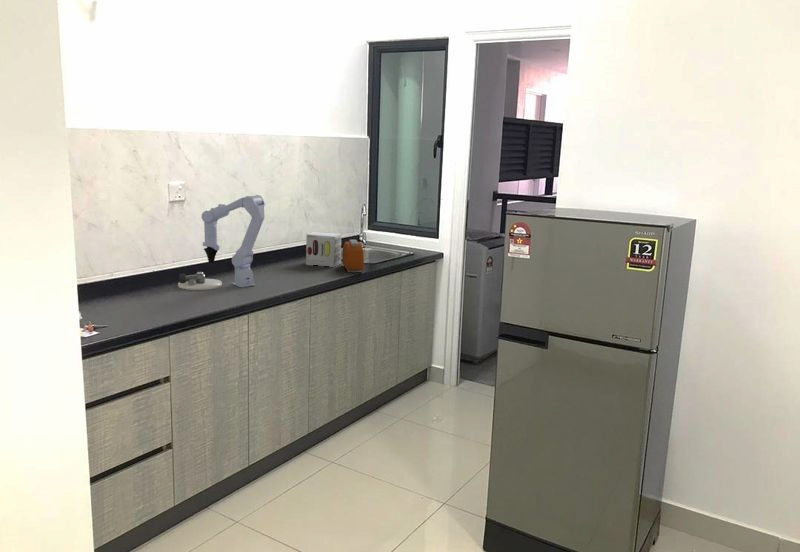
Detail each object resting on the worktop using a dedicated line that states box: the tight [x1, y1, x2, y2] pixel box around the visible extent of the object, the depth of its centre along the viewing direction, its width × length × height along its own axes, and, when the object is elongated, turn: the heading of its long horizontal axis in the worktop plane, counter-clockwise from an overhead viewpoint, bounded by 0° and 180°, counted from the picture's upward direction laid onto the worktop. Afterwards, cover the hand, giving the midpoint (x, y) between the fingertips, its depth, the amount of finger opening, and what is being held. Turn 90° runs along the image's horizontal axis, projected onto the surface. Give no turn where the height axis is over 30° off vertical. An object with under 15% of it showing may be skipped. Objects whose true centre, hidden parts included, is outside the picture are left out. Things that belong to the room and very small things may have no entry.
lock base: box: [177, 278, 223, 291], centre depth 308 cm, size 20×20×4 cm
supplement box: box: [305, 231, 342, 268], centre depth 372 cm, size 17×13×18 cm
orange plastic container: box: [341, 239, 365, 273], centre depth 362 cm, size 23×9×17 cm, turn 12°
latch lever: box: [179, 271, 206, 283], centre depth 306 cm, size 12×4×5 cm, turn 131°
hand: (211, 262), depth 318 cm, fingers closed
